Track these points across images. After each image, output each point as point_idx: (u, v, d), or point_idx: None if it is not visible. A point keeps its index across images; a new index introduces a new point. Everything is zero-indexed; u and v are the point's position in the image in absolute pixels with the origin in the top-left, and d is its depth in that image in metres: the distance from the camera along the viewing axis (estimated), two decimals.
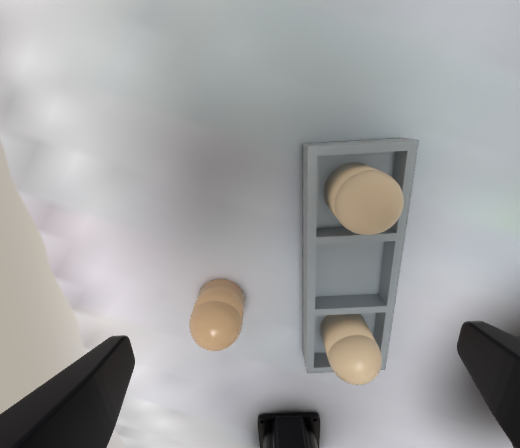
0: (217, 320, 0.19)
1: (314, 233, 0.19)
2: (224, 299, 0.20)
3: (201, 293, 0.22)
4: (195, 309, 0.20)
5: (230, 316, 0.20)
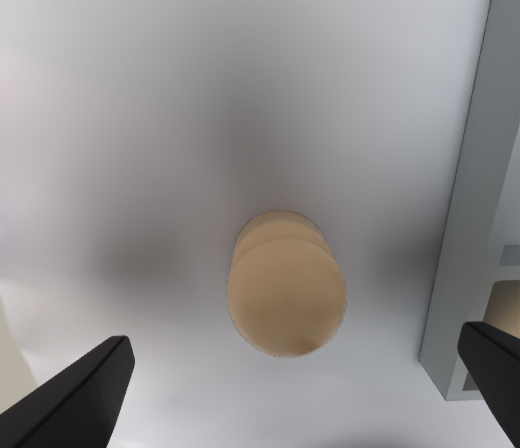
0: (304, 279, 0.07)
1: None
2: (307, 238, 0.09)
3: (246, 234, 0.10)
4: (241, 259, 0.09)
5: (331, 272, 0.08)
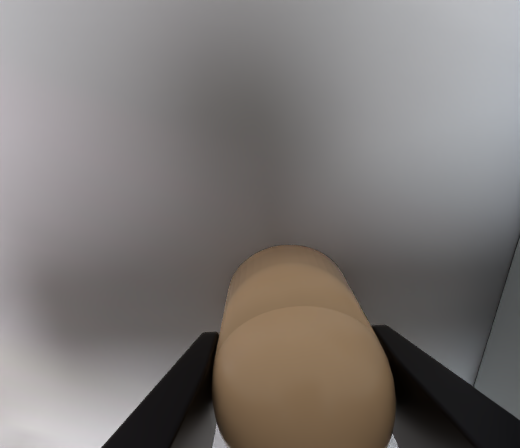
0: (336, 388, 0.05)
1: None
2: (332, 300, 0.06)
3: (243, 283, 0.07)
4: (234, 335, 0.06)
5: (376, 367, 0.05)
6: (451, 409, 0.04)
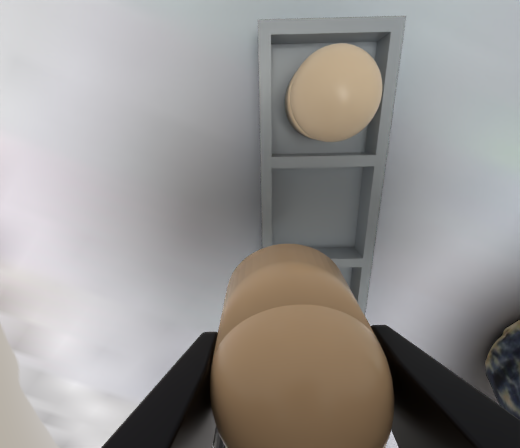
0: (334, 387, 0.05)
1: (269, 151, 0.14)
2: (331, 299, 0.06)
3: (241, 281, 0.07)
4: (232, 334, 0.06)
5: (374, 365, 0.05)
6: (451, 409, 0.04)
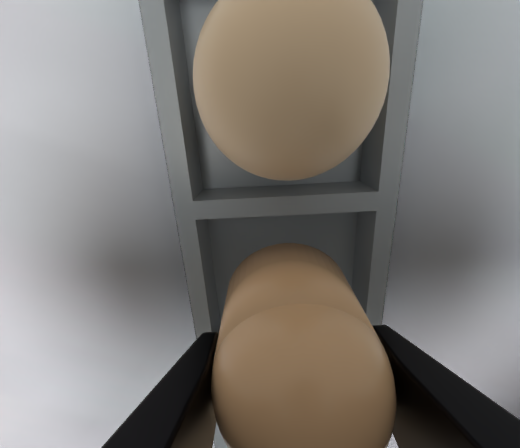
0: (337, 386, 0.04)
1: (187, 191, 0.08)
2: (332, 298, 0.06)
3: (243, 281, 0.07)
4: (233, 333, 0.06)
5: (376, 364, 0.05)
6: (451, 409, 0.04)
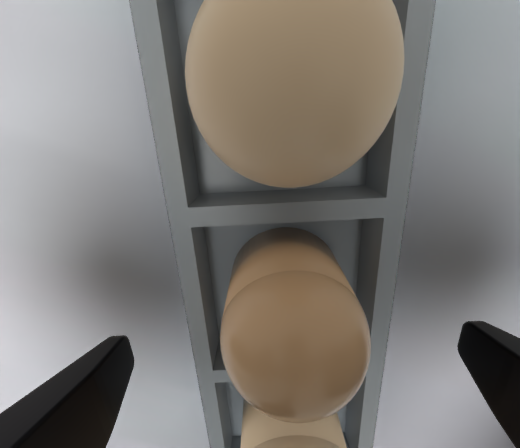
0: (320, 329, 0.06)
1: (181, 197, 0.08)
2: (320, 267, 0.07)
3: (246, 257, 0.09)
4: (239, 295, 0.07)
5: (353, 316, 0.06)
6: None
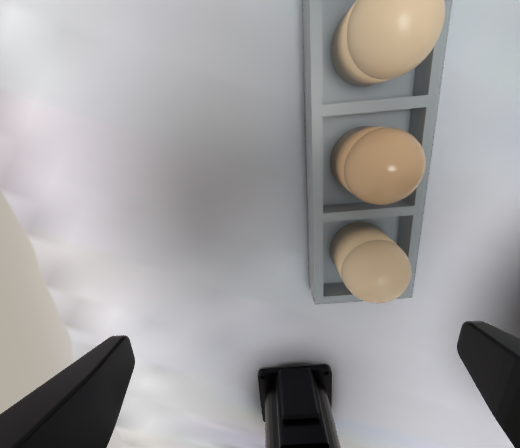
0: (405, 142, 0.13)
1: (320, 98, 0.14)
2: None
3: (348, 137, 0.15)
4: (357, 141, 0.14)
5: (418, 142, 0.13)
6: None
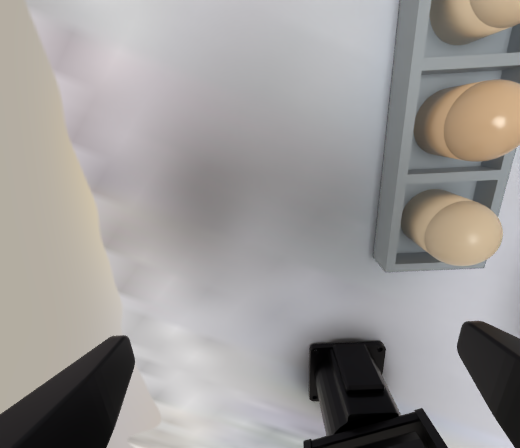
0: None
1: (421, 51, 0.14)
2: None
3: (442, 94, 0.15)
4: (464, 93, 0.14)
5: None
6: None
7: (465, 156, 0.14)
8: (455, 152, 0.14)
